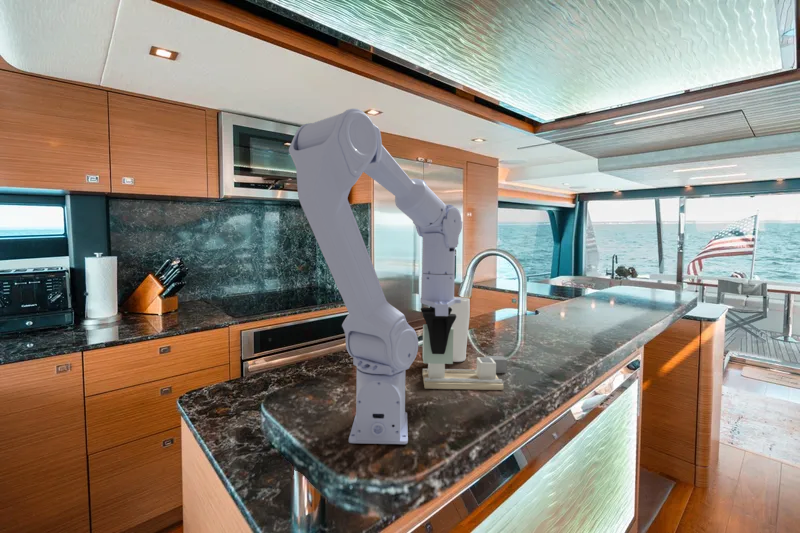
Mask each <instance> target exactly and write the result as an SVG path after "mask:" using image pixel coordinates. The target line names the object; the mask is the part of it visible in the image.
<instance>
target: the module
mask: <svg viewBox="0 0 800 533" xmlns="http://www.w3.org/2000/svg"><path fill="white" fill-rule="evenodd" d="M422 360H423V361H422V362H423V364H428V363H431V364H445V365H453V364H454V362H453V328H452V327H451V329H450V333H449V336H448V341H447V346H446V350H445V353H444V354H432V350H431V346H430V338H429V331H428V327H427V324H426V323H425V324H422Z"/></svg>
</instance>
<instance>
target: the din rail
mask: <svg viewBox="0 0 800 533" xmlns="http://www.w3.org/2000/svg"><path fill="white" fill-rule="evenodd" d="M423 372H428V368H422V373H423ZM445 373H476V369H472V368H469V369H467V368H466V369H463V368H459V369H458V368H445ZM424 382H458V383H503V382H504V381H503V379H502V378H499V379H465V378H424V381H423V383H424Z"/></svg>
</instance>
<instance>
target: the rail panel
mask: <svg viewBox="0 0 800 533" xmlns="http://www.w3.org/2000/svg"><path fill="white" fill-rule="evenodd" d="M421 374H422V381H423V385H424V389H425V390H426V389H431V390H432V389H433V390H437V389H438V390H484V391H485V390H486V391H487V390H489V391H491V390H492V391H500V390H501V391H503V390H504V388H505V387H504V383H503V382H502V383H458V382H424V378H429V376H428V372H423V371H422V373H421ZM445 378H465V379H479V378H478V376H477V374H476V373H445ZM496 379H500V378H499V377H498V375H497V374H496Z"/></svg>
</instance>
